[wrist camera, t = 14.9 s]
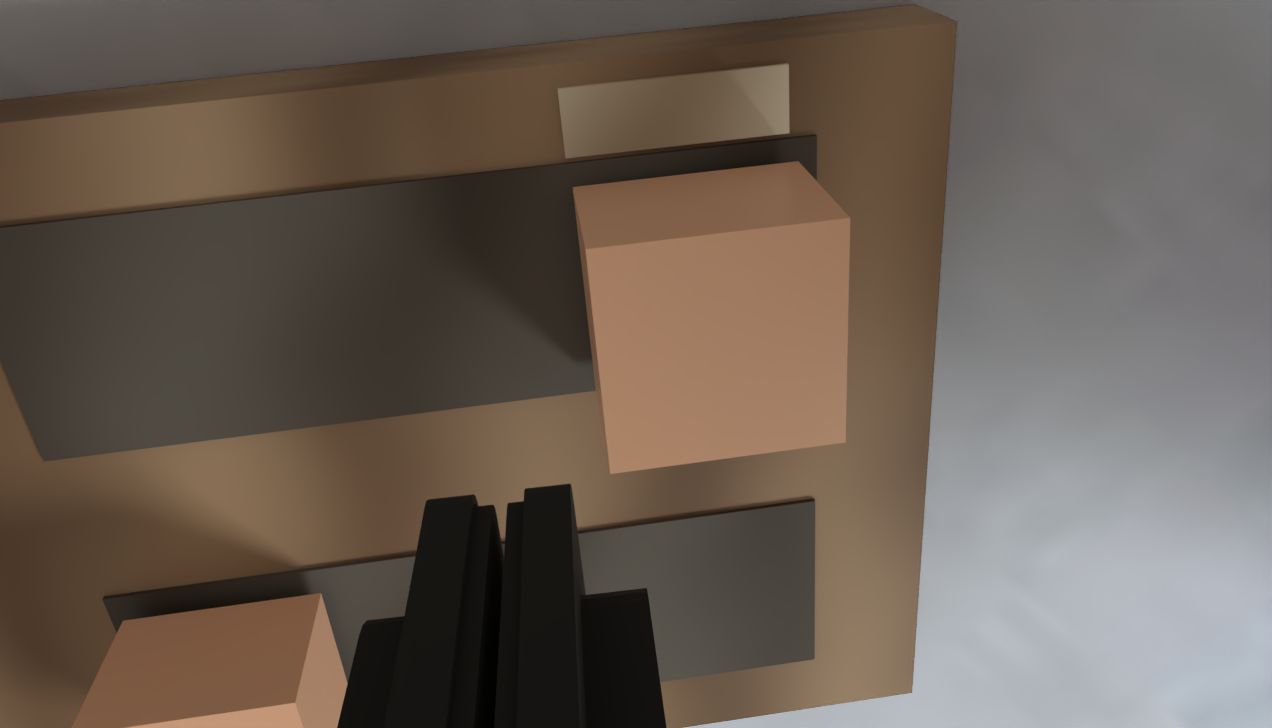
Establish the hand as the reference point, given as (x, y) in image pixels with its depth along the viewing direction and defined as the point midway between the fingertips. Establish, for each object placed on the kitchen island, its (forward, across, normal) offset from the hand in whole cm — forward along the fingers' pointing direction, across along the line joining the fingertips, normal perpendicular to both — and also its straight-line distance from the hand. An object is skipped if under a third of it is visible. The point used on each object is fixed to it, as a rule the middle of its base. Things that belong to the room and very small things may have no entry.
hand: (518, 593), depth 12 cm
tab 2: (+8, -3, -1) cm, 8 cm away
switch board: (+10, +3, +3) cm, 11 cm away
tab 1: (+7, +7, +7) cm, 13 cm away
